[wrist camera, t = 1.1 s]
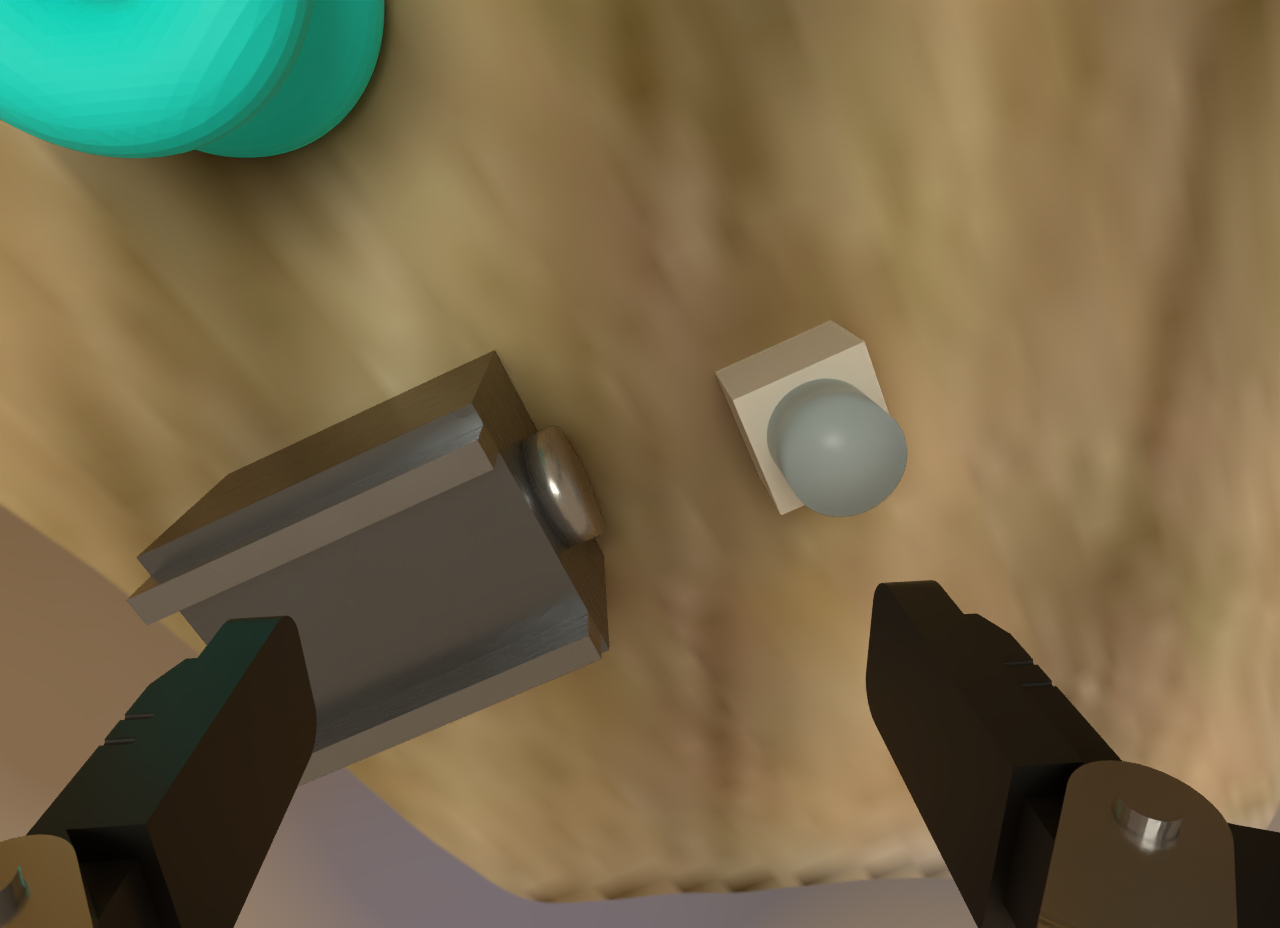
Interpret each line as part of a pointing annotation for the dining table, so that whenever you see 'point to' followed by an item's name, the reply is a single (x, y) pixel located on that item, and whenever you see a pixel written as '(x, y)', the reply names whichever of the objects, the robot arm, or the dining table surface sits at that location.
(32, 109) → the donuts
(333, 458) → the motor housing
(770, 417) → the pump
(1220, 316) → the dining table surface
